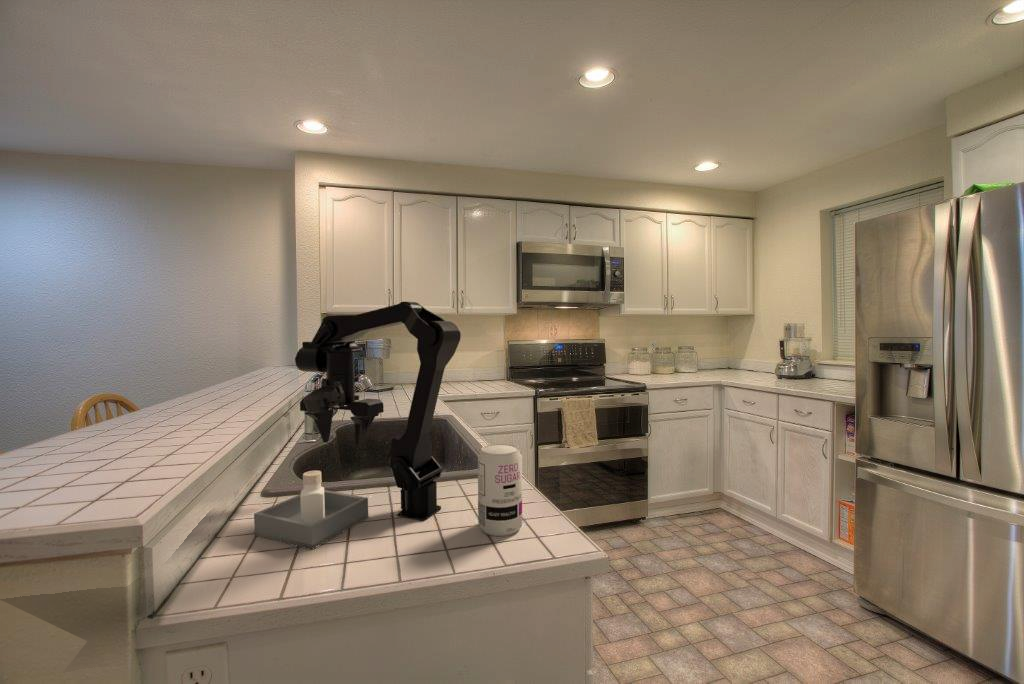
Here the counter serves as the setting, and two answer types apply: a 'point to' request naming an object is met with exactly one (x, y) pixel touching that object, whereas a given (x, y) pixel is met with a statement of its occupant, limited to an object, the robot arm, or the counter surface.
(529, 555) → the counter surface
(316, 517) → the salt shaker
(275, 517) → the bin
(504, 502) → the supplement can
